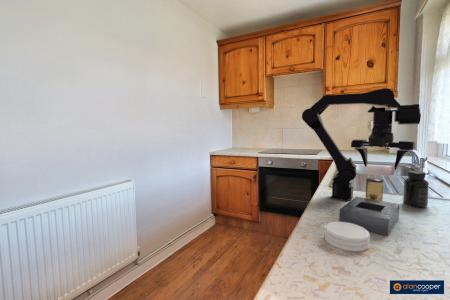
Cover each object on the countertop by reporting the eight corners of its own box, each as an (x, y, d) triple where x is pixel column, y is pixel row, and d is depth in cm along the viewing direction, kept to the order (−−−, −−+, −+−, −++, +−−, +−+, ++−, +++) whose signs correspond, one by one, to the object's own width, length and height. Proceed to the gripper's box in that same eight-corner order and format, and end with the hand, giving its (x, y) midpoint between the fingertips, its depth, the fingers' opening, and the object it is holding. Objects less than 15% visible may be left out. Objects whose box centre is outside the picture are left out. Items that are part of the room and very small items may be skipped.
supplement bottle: (425, 203, 85) (427, 171, 84) (429, 209, 79) (432, 174, 78) (401, 201, 89) (403, 169, 87) (404, 206, 83) (406, 172, 81)
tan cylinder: (363, 207, 82) (364, 179, 81) (367, 204, 86) (368, 177, 85) (380, 211, 79) (381, 181, 78) (383, 207, 82) (384, 179, 81)
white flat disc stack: (318, 243, 59) (318, 229, 59) (332, 230, 66) (333, 217, 66) (362, 258, 52) (363, 243, 52) (374, 241, 59) (374, 228, 59)
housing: (339, 223, 70) (339, 208, 69) (355, 209, 81) (356, 196, 80) (387, 236, 61) (388, 219, 61) (398, 218, 73) (399, 204, 72)
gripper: (346, 125, 85) (345, 168, 87) (412, 124, 72) (409, 174, 74) (356, 125, 93) (354, 164, 95) (416, 124, 80) (413, 169, 82)
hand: (380, 167), depth 86 cm, fingers open, 9 cm apart
